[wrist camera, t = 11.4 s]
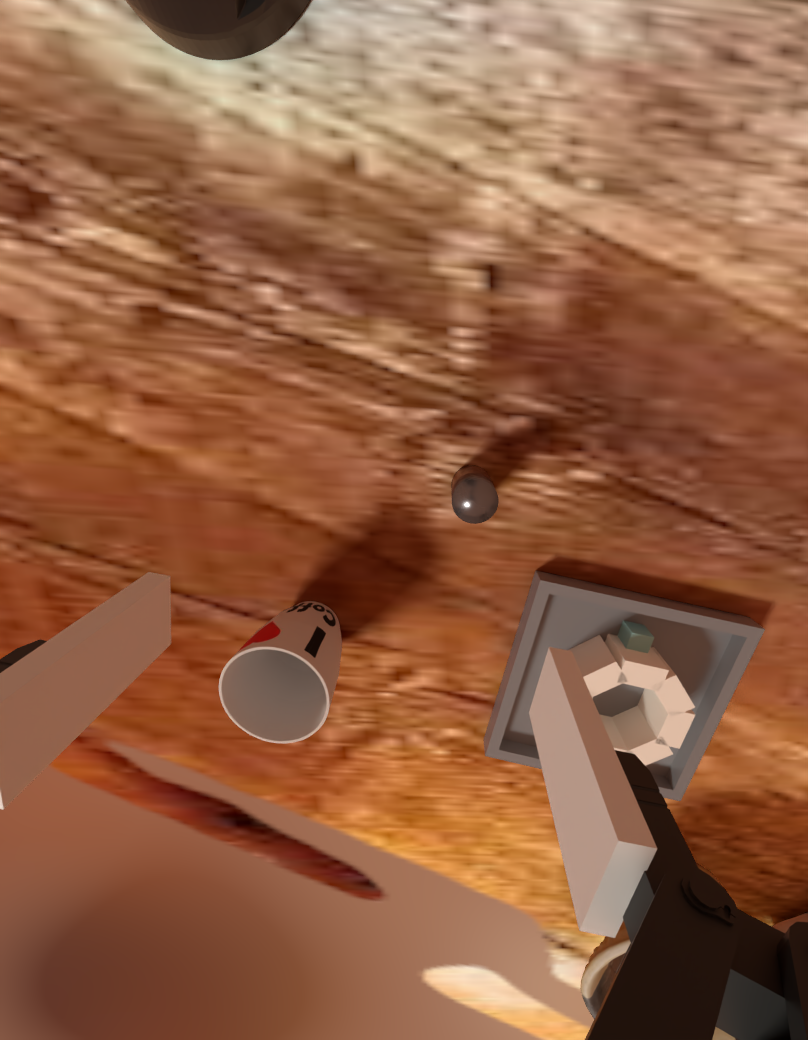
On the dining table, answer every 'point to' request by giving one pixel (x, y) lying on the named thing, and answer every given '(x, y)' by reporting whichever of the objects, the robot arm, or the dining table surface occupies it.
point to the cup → (285, 675)
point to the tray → (678, 639)
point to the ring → (662, 701)
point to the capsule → (473, 495)
